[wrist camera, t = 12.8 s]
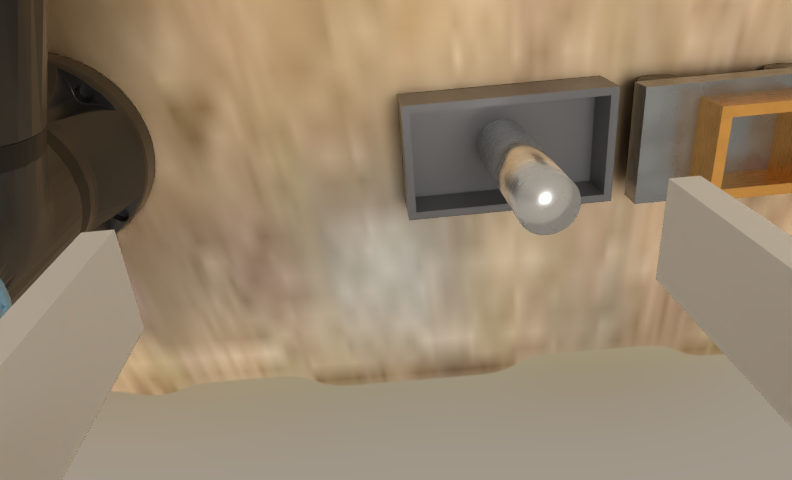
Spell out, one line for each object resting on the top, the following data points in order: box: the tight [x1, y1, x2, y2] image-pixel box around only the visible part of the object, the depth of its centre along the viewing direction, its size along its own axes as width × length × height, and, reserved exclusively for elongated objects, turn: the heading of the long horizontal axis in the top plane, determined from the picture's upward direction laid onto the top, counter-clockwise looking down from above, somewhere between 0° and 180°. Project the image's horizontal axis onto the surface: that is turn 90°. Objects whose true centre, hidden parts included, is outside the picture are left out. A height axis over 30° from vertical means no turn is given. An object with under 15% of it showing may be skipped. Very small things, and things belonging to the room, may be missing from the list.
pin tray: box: [397, 76, 620, 220], centre depth 48 cm, size 16×9×4 cm, turn 94°
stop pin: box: [476, 119, 581, 235], centre depth 43 cm, size 4×4×13 cm
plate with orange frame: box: [625, 63, 792, 204], centre depth 47 cm, size 15×9×8 cm, turn 94°
